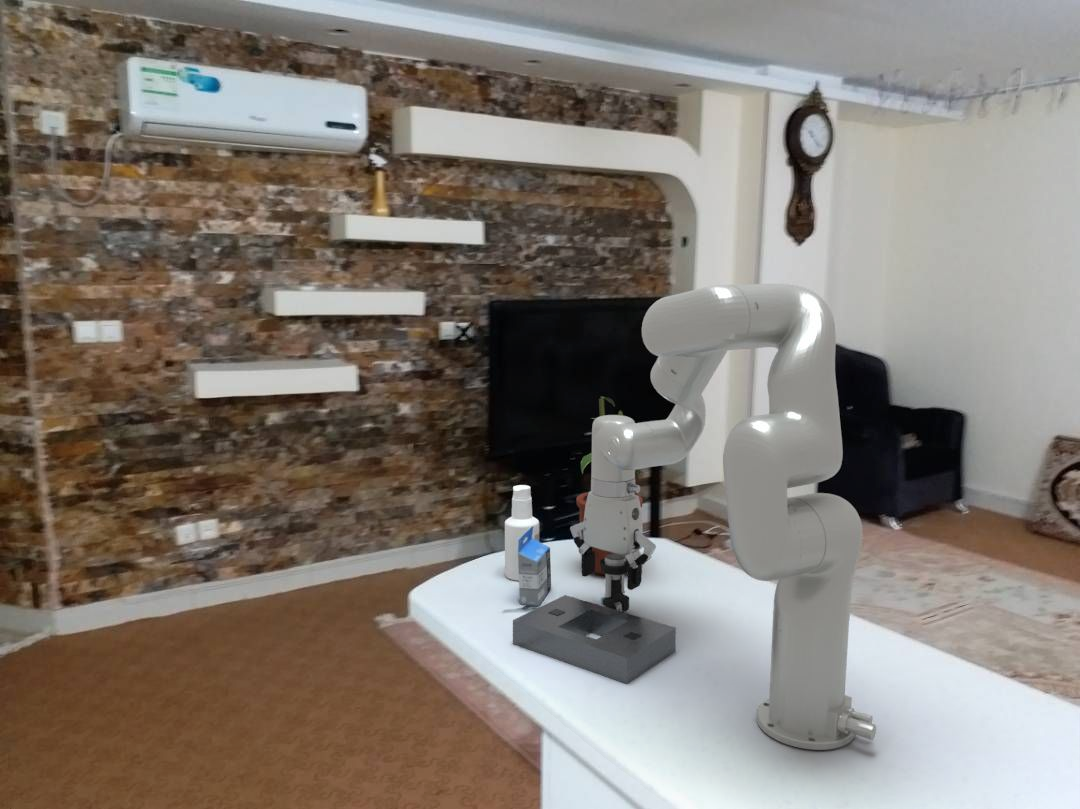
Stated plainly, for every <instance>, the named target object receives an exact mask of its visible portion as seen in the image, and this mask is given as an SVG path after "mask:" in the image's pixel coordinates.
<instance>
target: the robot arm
mask: <svg viewBox="0 0 1080 809" xmlns="http://www.w3.org/2000/svg"><path fill="white" fill-rule="evenodd" d="M641 325H642V326H641V338H642V342H643V344H644V345H645V348H646V349H647V350H648V351H649V353H650V354H652V355H654V356H656V357H657V358H656V361H655V362H654V364H653V366H652V368H651V371H650V382H651V384H652V386H653V388H654V389H655V390H656V392H657V393H658V394H659V395H660V396H662V397H663V398H664V399H666V401H669V402H670V403H673V404H675V405H674V406H673V408H672V410H671V412H670V413H669V415H668V417H667V418H666V419H660V420H658V419H657V420H649V421H642V422H637V423H636V421H635V420H634V419H633V418H631V417H629V416H626V415H623V416H621V415H618V414H607V415H606V414H605V416H600V415H599V416H598V417H595V418H596V419H593V422H592V426H591V427H592V428H591V452H592V461H591V476H590V478H591V480H590V491H588V492H589V493H588V497H587V501H586V506H585V513H584V522H581V523H580V522H579V523H576V524H573V525H571V526H570V528H569V530H570V532H571V535H572V537H573V542H574V544H575V545H576V547H577V548H578V553H579V554H580V555H581V564H580V565H581V576H582V577H585V578H586V577H588V576H590V575H592V574H594V573H595V551H592V549H593V548H596V549H600V550H604V551H608V552H611V553H615V554H619V555H625V557H626V559H627V560H628V562H629V564H630V565H631V566H630V567H629V568H628V572H627V584H626V585H627V589H628V590H630V591H633V590H634V589H636V588H639V587H640V586H641V583H642V578H643V577H642V575H643V574H642V573H643V571H642V570H643V565H645V564H646V562H648V561H649V560H651V559H652V555H653V554H654V552H655V550H656V548H657V546H656V544H655V543H654V542H653V541H652V540H650V539H649V538H648V537H647V536H646V535H644V530H643V529H644V528H643V527H644V525H643V514H642V507H641V506H640V501H639V497H638V496H639V495H638V494H639V493H640V491H641V486H640V485H639V484H636V471H635V470H636V469H639V470H642V469H649V468H652V467H659V466H667V465H675V464H677V463H679V462H681V461H682V460H684V459H685V458H686V457H687V456H688V455H689V454H690V452H691V451H692V450H693V448H694V447H695V445H696V444H697V443H698V440H699V439H700V437H701V436H702V434H703V431H704V429H705V425H706V404H705V400H704V397H703V392H704V391H705V389H706V387H707V386H708V384H709V382H710V380H711V379H712V377H714V376H713V375H714V374H715V372H716V370H717V369H718V368H719V366H720V364H721V363H722V361H723V359H724V358H725V356H726V354H727V353H728V351H735V350H736V351H737V350H753V349H754V350H755V349H762V348H763V349H764V348H775V349H777V352H776V353H775V354H774V357H773V360H772V361H771V365H770V367H769V371H768V374H767V375H768V376H767V382H766V384H767V393H768V404H769V406H768V407H769V408H768V414H760V415H752V416H749V417H746V418H743V419H742V420H741V421H739V422H738V423H736V424H735V425H734V426H733V427H732V429H731V430H730V432H729V433H728V435H727V438H726V440H725V443H724V446H723V452H722V453H723V455H722V469H723V480H724V492H725V501H726V511H727V512H726V513H727V521H728V522H727V523H728V530H729V538H730V544H731V549H732V552H733V555H734V558H735V560H736V563H737V564H738V566H739V567H740V569H741V570H742V571H743V572H744V573H745V574H746V575H747V576H749V577H751V578H752V579H755V580H757V581H761V582H762V581H763V582H772V581H773V582H774V581H777V583H776V586H775V591H774V598H773V610H772V631H771V634H772V635H771V649H770V650H771V653H770V675H769V676H770V677H769V678H770V679H769V698H767V699H766V700H764V701H762V702H761V703H760V704H759V705H758V707H757V709H756V722H757V726H759V728H760V729H761V730H762V731H763V732H764V733H765V734H766V735H767V736H769V737H771V738H772V739H774V740H775V741H778V742H780V743H782V744H784V745H788V746H790V747H794V748H799V749H803V750H810V751H811V750H812V751H816V750H817V751H826V750H834V749H837V748H839V749H840V748H842V747H844V746H846V745H848V744H849V743H850V742H853V739H854V738H855V736H856V735H857V736H858V737H861V738H865V739H866V740H867V739H868V740H871V741H873V740H874V738H875V737H876V733H877V726H876V724H874V723H873V716H872V715H869V714H866V713H863V712H862V713H861V712H858V711H856V710H855V709H854V708H853V707H852V703H853V701H852V699H853V697H851V696H849V695H846V682H847V680H846V678H847V665H848V664H847V661H848V660H847V659H848V648H849V647H848V646H849V631H850V629H849V628H850V619H851V618H850V616H851V602H852V592H853V584H854V579H855V574H856V571H857V570H856V569H857V567H858V561H859V559H860V555H861V550H862V547H863V537H864V532H863V524H862V521H861V517H860V516H859V513H858V511H857V509H856V508H855V507H854V505H852V504H851V503H850V502H849V501H848V500H846V499H845V498H843V497H842V496H839V495H836V494H832V493H824V492H817V493H816V492H815V493H808V494H802V495H801V494H800V495H795V496H791V497H788V489H791V488H796V487H797V488H798V487H803V486H807V485H813V484H819V483H821V482H824V481H826V480H829V479H830V478H833V477H834V476H835V475H836V474H837V473H838V472H839V471H840V469H841V466H842V464H843V463H842V461H843V456H844V455H843V453H844V451H843V450H844V449H843V437H842V429H841V428H842V427H841V418H840V406H839V395H838V388H837V379H836V342H837V341H836V340H837V339H836V338H837V337H836V335H837V333H836V325H835V321H834V316H833V314H832V311H831V309H830V307H829V305H828V304H827V302H825V300H824V299H823V298H822V297H821V296H820V295H819V294H818V293H816V292H814V291H813V290H811V289H809V288H806V287H803V286H799V285H794V284H788V283H786V284H785V283H753V284H752V283H751V284H723V285H722V284H719V285H709V286H705V287H701V288H696V289H694V290H693V289H692V290H690V291H689V290H688V291H684V292H681V293H677V294H672V295H668V296H664V297H661V298H660V299H657V300H656V301H655V302H654V303H653V304H652V305H651V306H649V308H648V309H647V311H646V312H645V315H644V316H643V320H642V323H641ZM634 494H636V495H634ZM637 495H638V496H637ZM582 529H583V536H582V533H581V530H582ZM642 548H643V552H642V553H641V551H640V550H642ZM633 555H634V556H633ZM634 557H635V558H634Z"/></svg>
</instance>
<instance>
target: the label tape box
mask: <svg viewBox="0 0 1080 809" xmlns="http://www.w3.org/2000/svg"><path fill="white" fill-rule="evenodd" d="M533 527H534V526H532V527H531V528H530V529H529V530H528V531H527V532H525V533H524V534H523V535H522V537H521V538H520V539H519V540H518V568H519V581H518V587H519V588H518V589H519V604H520V605H526V606H536V607H537V606H540V605H541V603H542V602H543V601H544V599H545V598H546V596H547V595H548V594H549V592H550V590H551V589H552V573H551V572H552V569H551V567H552V566H551V565H552V564H551V547H550V546H548V545H546V544H544V543H542V542H541V541H540V540H539V541H537V540H535V539H533V538H532V533H533ZM525 537H526V538H527V540H526V541H525V542H524V543H523V541H524V540H525Z"/></svg>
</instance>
